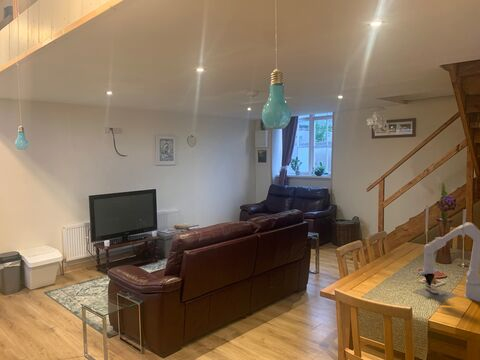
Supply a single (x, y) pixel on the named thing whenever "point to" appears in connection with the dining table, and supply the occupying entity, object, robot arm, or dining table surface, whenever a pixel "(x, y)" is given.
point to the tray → (433, 284)
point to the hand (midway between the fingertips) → (428, 285)
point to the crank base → (439, 297)
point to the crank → (432, 290)
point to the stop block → (434, 280)
